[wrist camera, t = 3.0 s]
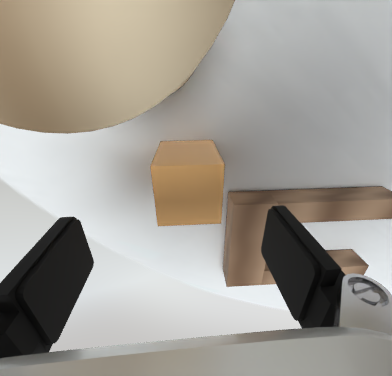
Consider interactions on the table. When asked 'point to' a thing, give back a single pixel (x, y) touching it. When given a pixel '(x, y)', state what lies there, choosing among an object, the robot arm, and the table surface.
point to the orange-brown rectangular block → (188, 183)
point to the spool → (98, 58)
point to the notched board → (304, 212)
